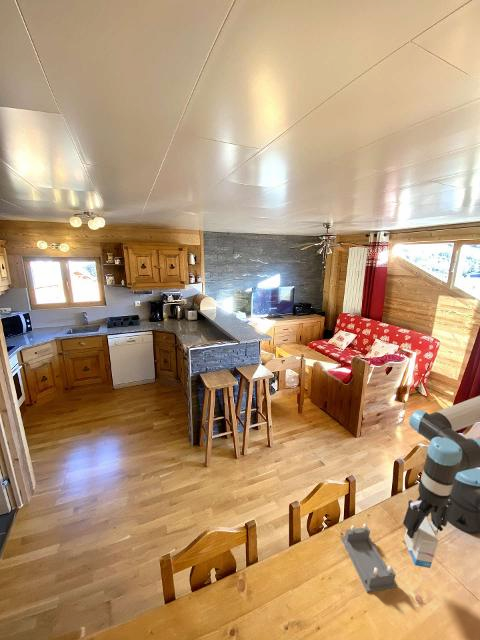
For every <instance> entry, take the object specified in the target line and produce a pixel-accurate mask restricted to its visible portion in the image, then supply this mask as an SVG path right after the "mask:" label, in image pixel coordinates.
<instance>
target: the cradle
mask: <svg viewBox="0 0 480 640" xmlns="http://www.w3.org/2000/svg"><path fill="white" fill-rule="evenodd" d="M355 527H356V526H355V525H353V524H352V525H351V526H350V528H349V529H346V530H345V533H344V534H345V535H344V536H341V537H340V539H341V542H342V543H343V546H344V547H345V549H346V551H347V553H348V557H349V558H350V559H351V562H352V564H353V566H354V568H355V570H356V572H357V574H358V576H359V578H360V580H361V584H363V587H364V589H365V591H366V593H372V592H379V591H383V590H389V589H395V588H398V584H397V583H396V581H395V579H396V573H395V571H394V569H393V567H392V566H391V565H390V564H389V565H387V564H386V563H385V561H384V559H383V558H382V556H381V555H380V553H379V550H378V549H377V547H376V546H375V544H374V542H373V541H372V538H371V537H370V533H371V530H370V529H369V527H368V525H367V524H366V523H363V524H362V527H359V528H358V527H356V528H355Z"/></svg>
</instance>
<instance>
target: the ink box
mask: <svg viewBox="0 0 480 640" xmlns="http://www.w3.org/2000/svg"><path fill="white" fill-rule="evenodd" d="M417 531H418V532H419V533H418V537H417V540H416V544H415V548H412V546H411V545H410V544H409V542H408V541H407V539H406V538H407V529H406V531H405V534H404V538H403V539H404V541H405V545H406V547H407V549H408V552H409V555H410V557H411V559H412V563H413V565H414V566H418V567H420V568H421V567H422V568H428V569H431V567H432V562H433V560H434V556H435V554H436V551H437V547H438V543H439V540H438V538H437V535H436V536H435V534H434V532H433V530H432V528H431V526H430V524H429V520H428V517H425V518H424V520H423V522H422V523H421V525H420V526H419V528H418V530H417Z"/></svg>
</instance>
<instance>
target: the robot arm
mask: <svg viewBox="0 0 480 640" xmlns="http://www.w3.org/2000/svg"><path fill="white" fill-rule="evenodd" d="M477 423H480V395H478V396H475V397H471V398H470V399H467V400H464V401H462V402H459V403H457V404H454V405H451V406H448V407H446V408H443V409H441V410H437V411H435V412H432V413H428V412H427V411H424V410H422V409H418V410H415V411H413V412H412V413H411V415H410V416H409V426H410V427H411V428H412V429H413V430H414V431H415V432H416V433H418V434H419V435H421V436H423V438H425V440H426V439H427V440H428V441H429V444H428V447H427V452H426V457H425V461H424V465H423V470H422V473H421V477H420V480H419V483H418V484H419V485H418V487H417V488H418V494H419V495H418V497H417V499H416V501H413V500H411V499H410V500H408V502H407V504H408V507H407V509H406V513H405V515H404V519H403V522H402V524H403V525H404V526H405V528H406V530H407V538H406V539H407V541H408V542H409V544H410V545H411V546H412V548H415V544H416V540H417V537H418V533H419V532H418V531H417V530H418V528H419V526H420V525H421V523H422V522H423V520H424V518H425V517H426V518H428V517H429V516H430V517H431V518H430V519H431V520H430V521H429V520H428V522H429V524H430V526H431V528H432V530H433V532H434V534H435V536H436V537H437V534H438V533H439V531H440V532H442V531H443V530H444V528H443V527H446V526H447V525H448V524H447V523H450V524H451V525H452V526H454V527H456V528H457V529H459V530H460V531H463V532H465V533H468V534H472V535H478V534H480V439H478V438H474V437H473V438H466V437H464V436H463V435H462V434H460V433H459V432H457V431H459V430H462V429H464V428H467V427H469V426H472V425H474V424H477Z"/></svg>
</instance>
